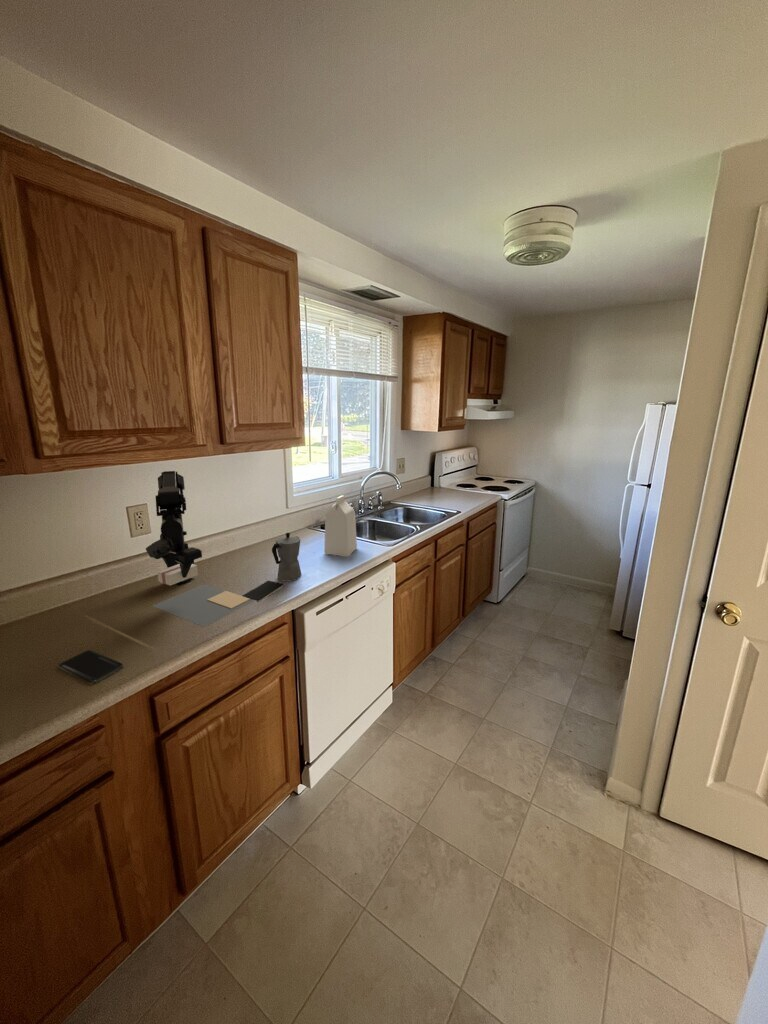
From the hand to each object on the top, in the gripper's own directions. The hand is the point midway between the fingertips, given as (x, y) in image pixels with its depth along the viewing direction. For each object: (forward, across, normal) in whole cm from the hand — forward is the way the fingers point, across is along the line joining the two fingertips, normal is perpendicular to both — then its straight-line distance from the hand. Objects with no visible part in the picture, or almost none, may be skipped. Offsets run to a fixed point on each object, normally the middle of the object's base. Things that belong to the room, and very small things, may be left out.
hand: (178, 575), depth 135 cm
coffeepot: (+11, +14, +36) cm, 40 cm away
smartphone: (+12, +15, +22) cm, 29 cm away
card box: (+1, 0, 0) cm, 1 cm away
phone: (+11, +11, -33) cm, 36 cm away
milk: (+11, +14, +72) cm, 74 cm away
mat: (+11, +6, +4) cm, 13 cm away
